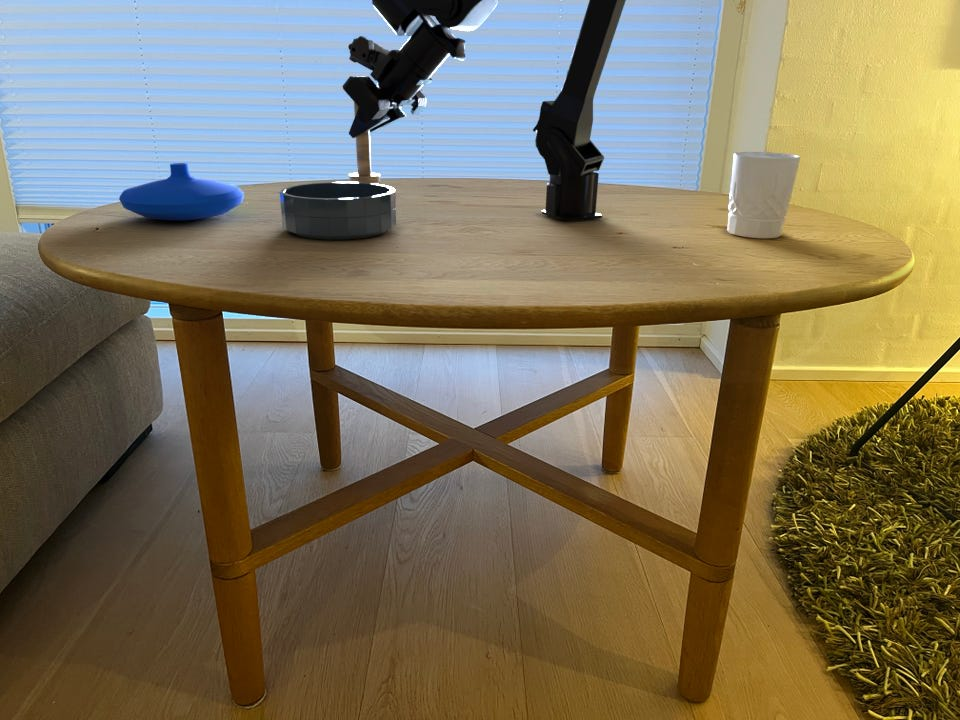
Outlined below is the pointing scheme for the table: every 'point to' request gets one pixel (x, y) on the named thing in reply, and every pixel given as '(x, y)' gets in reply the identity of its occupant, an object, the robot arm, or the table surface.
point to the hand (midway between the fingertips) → (354, 135)
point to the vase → (181, 197)
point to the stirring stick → (363, 159)
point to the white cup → (760, 193)
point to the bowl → (338, 210)
